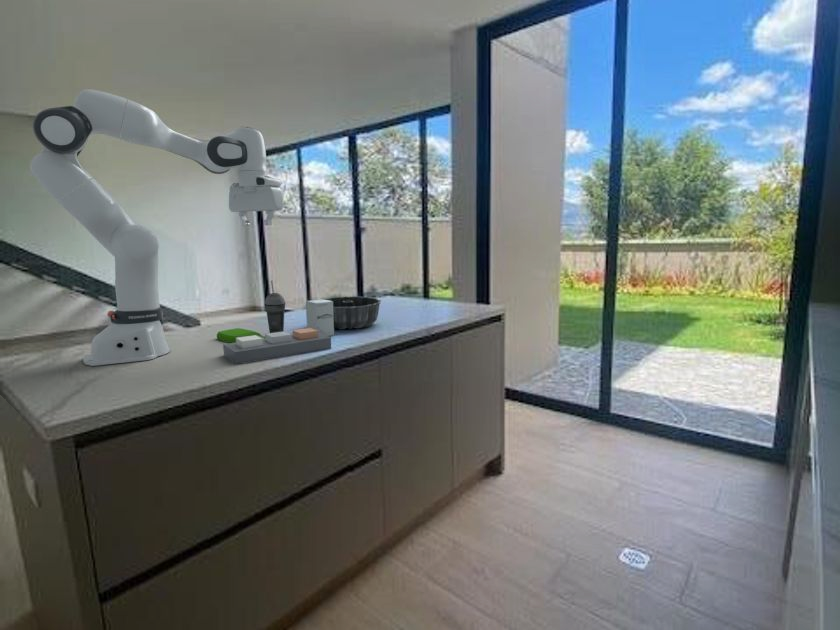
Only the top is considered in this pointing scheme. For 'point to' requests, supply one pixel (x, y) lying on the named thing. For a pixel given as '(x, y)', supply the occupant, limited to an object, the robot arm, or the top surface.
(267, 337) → the grey key
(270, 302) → the beverage cup
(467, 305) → the top surface
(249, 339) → the ivory key
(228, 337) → the green rounded slab
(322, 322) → the supplement box
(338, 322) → the bundt pan
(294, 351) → the keypad
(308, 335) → the terracotta key
